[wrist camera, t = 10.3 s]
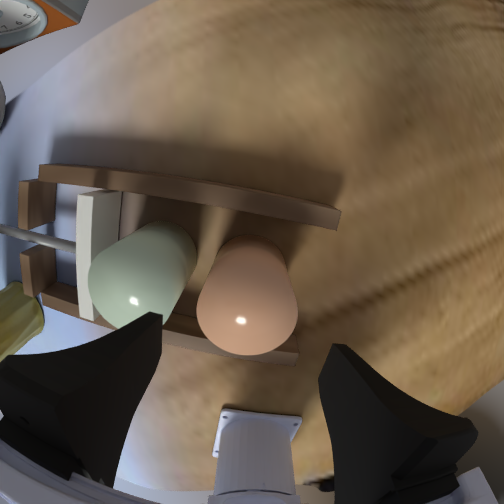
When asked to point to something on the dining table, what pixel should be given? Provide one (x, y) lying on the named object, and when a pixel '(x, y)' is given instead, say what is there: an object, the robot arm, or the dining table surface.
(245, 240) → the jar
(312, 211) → the lane
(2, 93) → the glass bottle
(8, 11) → the alarm clock
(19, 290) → the vase
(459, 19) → the dining table surface
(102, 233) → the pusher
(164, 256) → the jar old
